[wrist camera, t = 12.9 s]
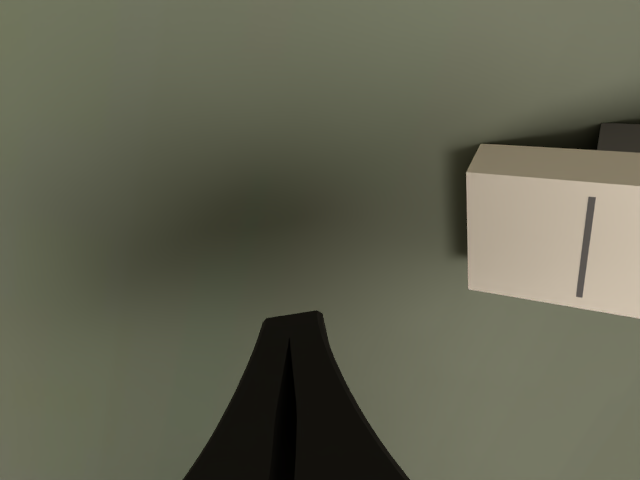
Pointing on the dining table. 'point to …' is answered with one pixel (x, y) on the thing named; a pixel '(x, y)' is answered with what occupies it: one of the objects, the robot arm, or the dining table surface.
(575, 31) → the dining table surface
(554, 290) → the domino
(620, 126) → the domino
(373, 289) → the dining table surface
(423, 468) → the dining table surface
